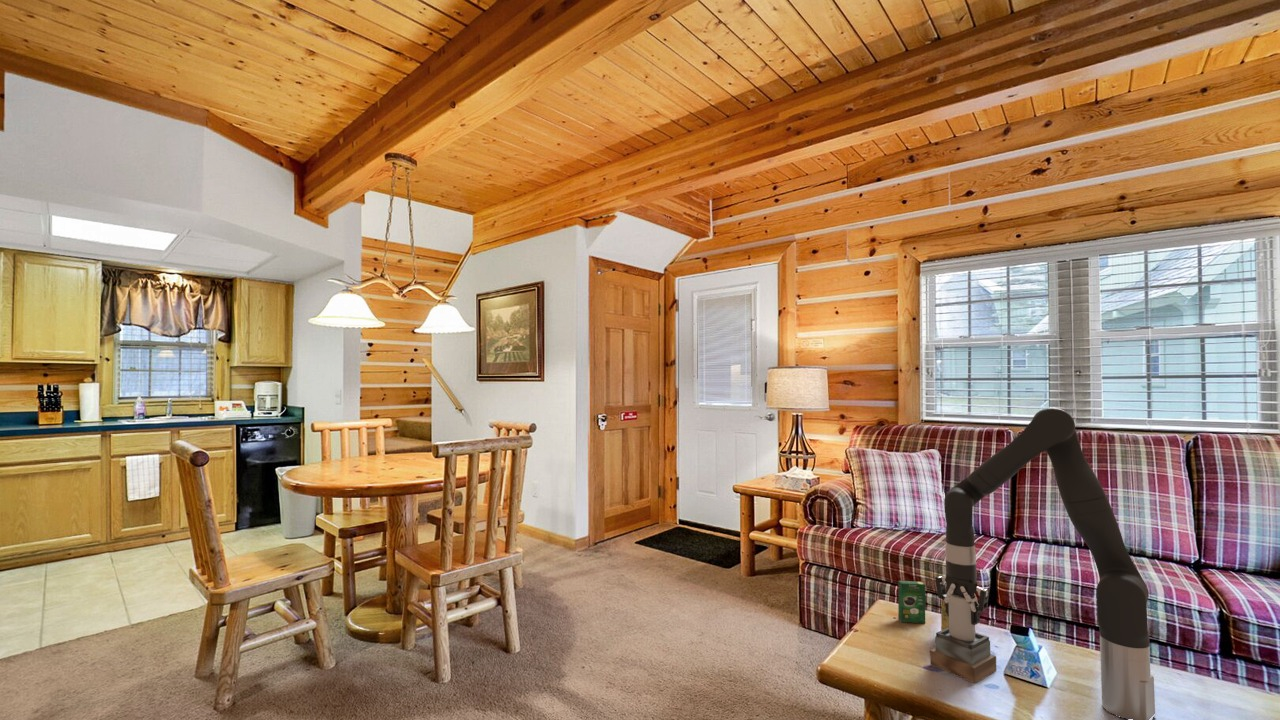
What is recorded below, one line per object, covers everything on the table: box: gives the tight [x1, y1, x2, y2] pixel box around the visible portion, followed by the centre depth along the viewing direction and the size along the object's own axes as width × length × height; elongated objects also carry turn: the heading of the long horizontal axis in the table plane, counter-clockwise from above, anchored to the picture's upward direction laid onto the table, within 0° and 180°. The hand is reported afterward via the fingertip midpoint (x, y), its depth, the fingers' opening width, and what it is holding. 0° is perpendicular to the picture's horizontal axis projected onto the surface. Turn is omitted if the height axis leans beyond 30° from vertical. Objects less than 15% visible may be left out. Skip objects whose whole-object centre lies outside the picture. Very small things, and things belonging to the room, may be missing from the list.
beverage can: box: [948, 594, 976, 642], centre depth 158 cm, size 6×6×12 cm
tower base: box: [929, 627, 997, 684], centre depth 158 cm, size 12×12×9 cm
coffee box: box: [897, 580, 926, 624], centre depth 188 cm, size 8×3×13 cm, turn 85°
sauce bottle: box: [940, 573, 949, 631], centre depth 176 cm, size 6×6×20 cm
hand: (962, 619), depth 158 cm, fingers closed on beverage can, 6 cm apart
